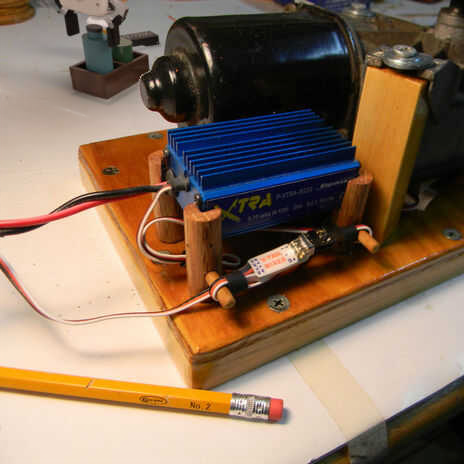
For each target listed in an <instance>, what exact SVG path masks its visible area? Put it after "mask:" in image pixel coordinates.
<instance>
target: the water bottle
mask: <svg viewBox="0 0 464 464" xmlns="http://www.w3.org/2000/svg"><path fill="white" fill-rule="evenodd" d="M85 30H86V32H85V33H83V34H81V43H82V48H83V54H84V60H85V61H86V67H87V70H88V71H91V72H95V73H98V74H102V75H104V74H106V73H108V72H110V71H112V70H114V69H113V61H112V53H111V48H110V47H109V46H108V42H107V34H105V33H103V27H102V26H101V25H98V24H89V25H87V24H86V25H85Z"/></svg>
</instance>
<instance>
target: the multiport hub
mask: <svg viewBox="0 0 464 464" xmlns="http://www.w3.org/2000/svg"><path fill="white" fill-rule="evenodd" d="M120 38H124V39H128V40H130V41H131V42H132V47H133V48H134V47H139V46H143V47H151V46H155V45H159V44H160V36H159V34H158V33H155V32H153V31H151V30H145V31H139V32H134V33H126V34H120ZM157 42H158V43H157Z"/></svg>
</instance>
